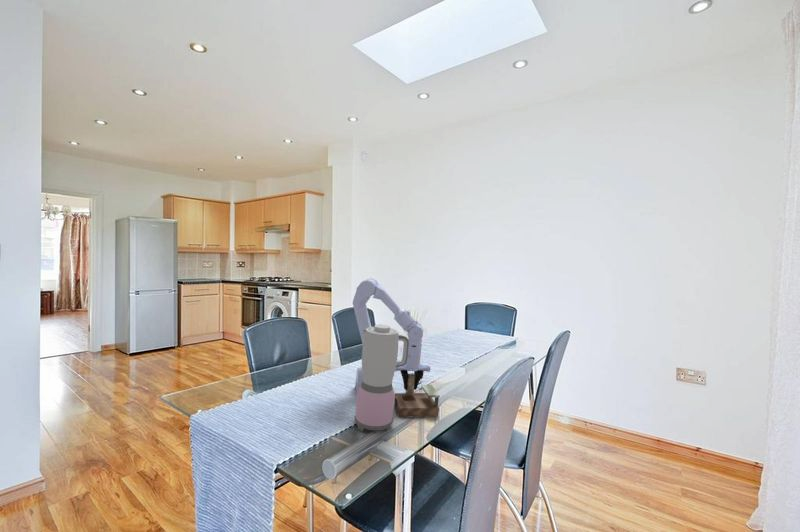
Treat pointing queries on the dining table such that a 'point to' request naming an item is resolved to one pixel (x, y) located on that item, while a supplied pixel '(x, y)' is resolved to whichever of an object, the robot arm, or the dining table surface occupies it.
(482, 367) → the dining table surface
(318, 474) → the dining table surface
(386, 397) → the blender
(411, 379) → the peg
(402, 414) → the socket deck
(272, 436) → the dining table surface
